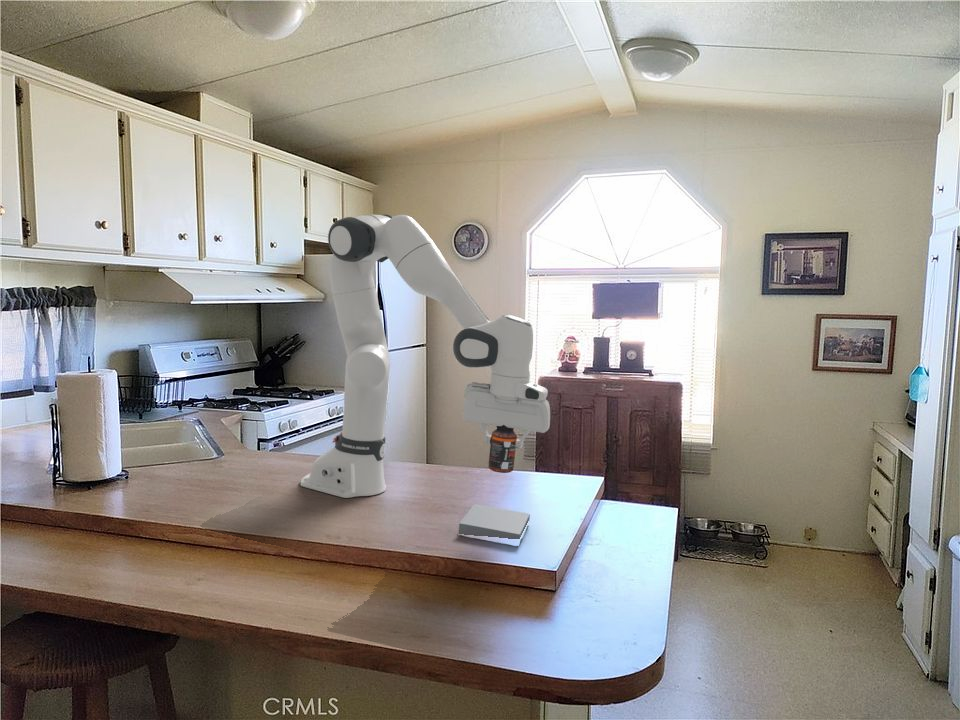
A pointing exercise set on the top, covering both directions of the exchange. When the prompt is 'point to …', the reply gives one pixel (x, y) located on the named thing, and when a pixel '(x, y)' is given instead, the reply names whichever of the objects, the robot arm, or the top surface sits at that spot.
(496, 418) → the robot arm
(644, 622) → the top surface
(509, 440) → the supplement bottle
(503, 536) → the plinth
